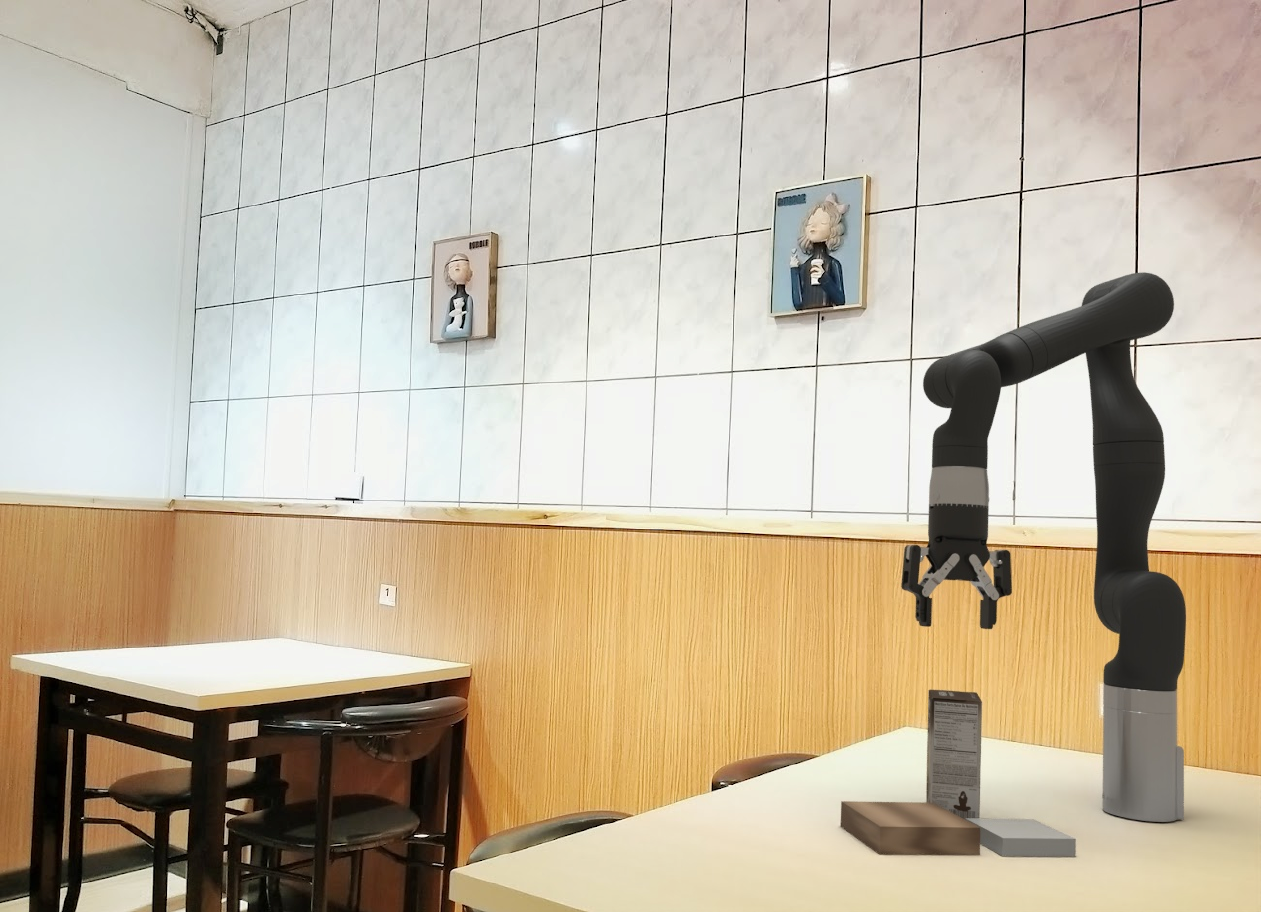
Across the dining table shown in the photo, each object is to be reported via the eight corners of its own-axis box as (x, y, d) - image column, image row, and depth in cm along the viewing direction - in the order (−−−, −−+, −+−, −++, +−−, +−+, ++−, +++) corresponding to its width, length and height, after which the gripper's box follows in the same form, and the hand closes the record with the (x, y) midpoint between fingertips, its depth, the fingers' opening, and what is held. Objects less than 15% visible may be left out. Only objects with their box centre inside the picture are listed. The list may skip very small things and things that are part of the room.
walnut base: (932, 827, 131) (933, 802, 131) (979, 854, 119) (980, 827, 119) (840, 826, 129) (841, 801, 129) (879, 854, 117) (880, 826, 117)
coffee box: (924, 810, 140) (927, 688, 142) (974, 815, 139) (977, 692, 140) (927, 826, 131) (930, 695, 133) (981, 832, 130) (984, 700, 131)
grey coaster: (1033, 835, 129) (1033, 819, 129) (1075, 856, 120) (1075, 838, 121) (964, 835, 128) (965, 818, 128) (1002, 856, 119) (1002, 838, 119)
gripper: (994, 507, 143) (992, 627, 142) (895, 501, 141) (892, 623, 139) (1023, 505, 136) (1021, 632, 134) (920, 498, 134) (916, 627, 132)
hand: (955, 627), depth 137 cm, fingers open, 8 cm apart
